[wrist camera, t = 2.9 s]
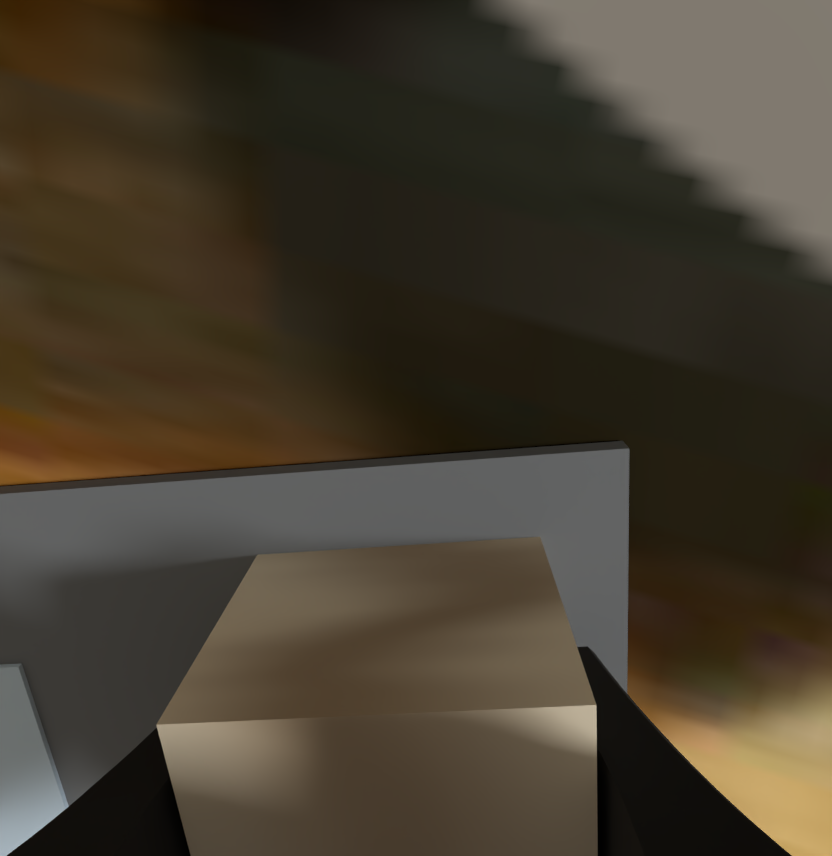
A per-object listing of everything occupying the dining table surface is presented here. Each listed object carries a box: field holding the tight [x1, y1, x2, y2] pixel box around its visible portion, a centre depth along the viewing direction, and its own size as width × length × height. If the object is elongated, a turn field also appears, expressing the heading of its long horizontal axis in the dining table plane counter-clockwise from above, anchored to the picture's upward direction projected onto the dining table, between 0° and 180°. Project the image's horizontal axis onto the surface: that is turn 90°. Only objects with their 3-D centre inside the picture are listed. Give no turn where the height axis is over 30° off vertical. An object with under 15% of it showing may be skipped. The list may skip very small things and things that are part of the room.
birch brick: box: [156, 537, 598, 856], centre depth 9 cm, size 5×5×4 cm
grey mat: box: [0, 441, 629, 856], centre depth 13 cm, size 20×16×1 cm
